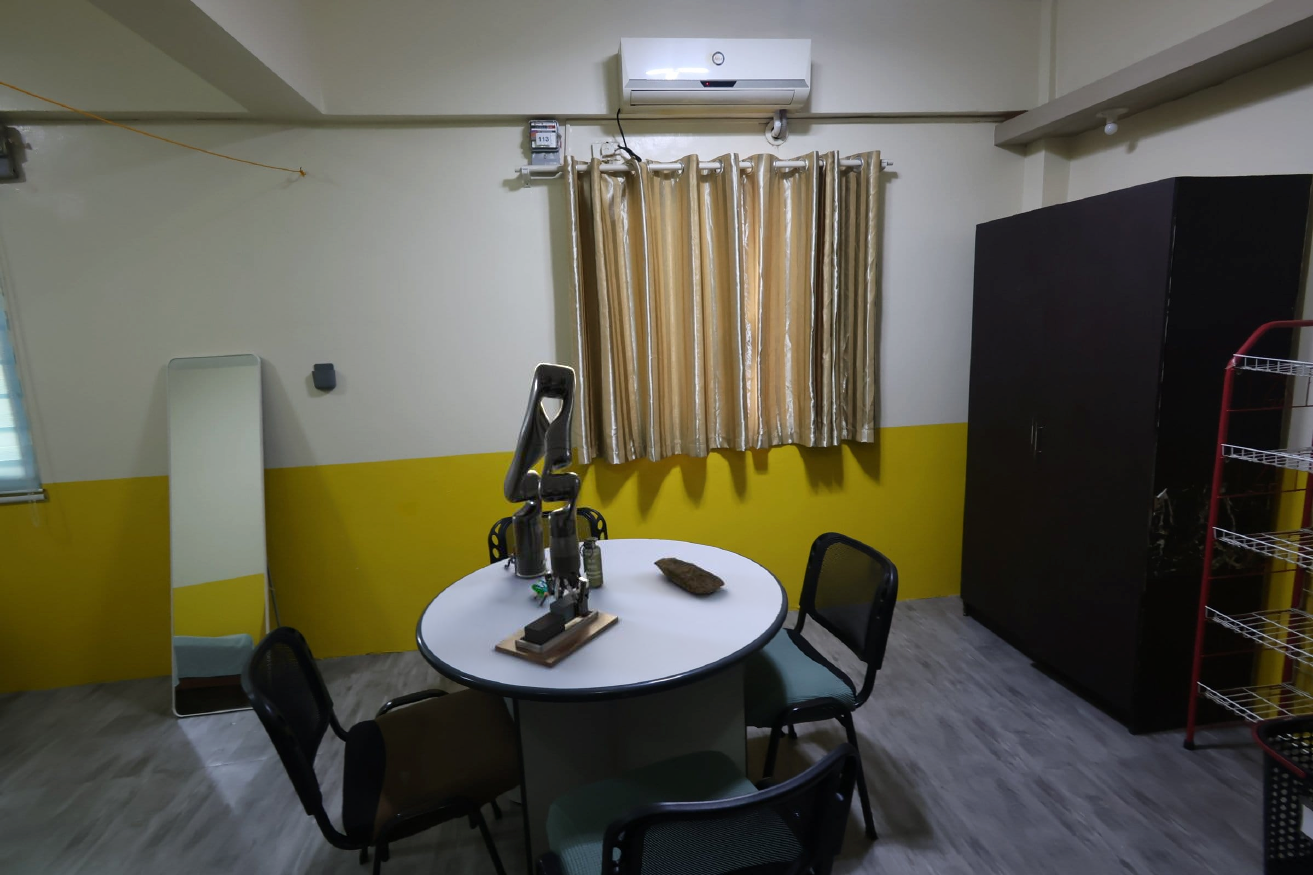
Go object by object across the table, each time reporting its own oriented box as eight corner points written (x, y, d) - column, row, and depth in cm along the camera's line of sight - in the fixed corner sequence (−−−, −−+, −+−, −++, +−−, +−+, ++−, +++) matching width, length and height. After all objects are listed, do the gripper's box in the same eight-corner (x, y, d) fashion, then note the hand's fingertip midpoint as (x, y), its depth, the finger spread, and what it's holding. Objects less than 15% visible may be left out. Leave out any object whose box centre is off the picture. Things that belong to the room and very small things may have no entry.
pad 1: (525, 644, 148) (523, 626, 147) (550, 628, 155) (549, 611, 155) (540, 648, 145) (539, 631, 145) (565, 632, 153) (564, 615, 152)
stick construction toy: (570, 591, 175) (552, 575, 172) (558, 613, 170) (540, 596, 167) (544, 593, 183) (527, 578, 179) (533, 614, 178) (514, 598, 175)
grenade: (605, 582, 186) (601, 535, 183) (601, 590, 180) (598, 541, 178) (585, 583, 187) (581, 535, 184) (581, 590, 181) (577, 542, 179)
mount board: (495, 649, 148) (494, 639, 148) (565, 607, 170) (564, 598, 169) (551, 667, 139) (550, 656, 138) (618, 620, 160) (617, 611, 160)
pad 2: (550, 620, 155) (549, 603, 154) (573, 606, 163) (572, 590, 162) (565, 624, 153) (564, 607, 152) (588, 610, 160) (587, 593, 159)
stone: (702, 600, 170) (701, 580, 169) (649, 573, 191) (648, 555, 191) (731, 590, 175) (731, 571, 174) (677, 564, 197) (676, 547, 196)
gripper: (596, 550, 154) (600, 613, 157) (553, 542, 162) (558, 603, 165) (577, 559, 148) (582, 625, 151) (533, 551, 156) (539, 614, 158)
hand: (569, 613), depth 158 cm, fingers closed on pad 2, 5 cm apart
